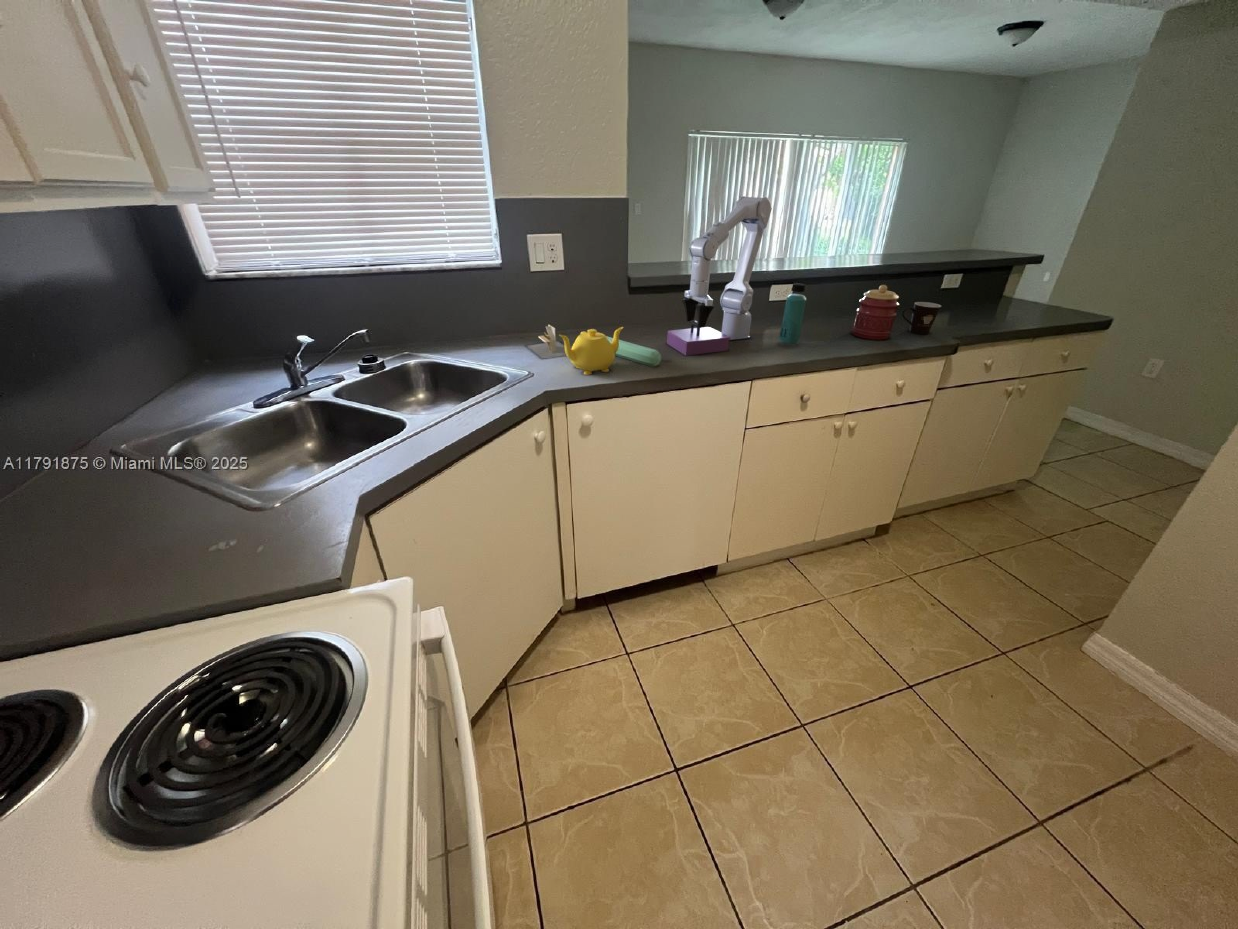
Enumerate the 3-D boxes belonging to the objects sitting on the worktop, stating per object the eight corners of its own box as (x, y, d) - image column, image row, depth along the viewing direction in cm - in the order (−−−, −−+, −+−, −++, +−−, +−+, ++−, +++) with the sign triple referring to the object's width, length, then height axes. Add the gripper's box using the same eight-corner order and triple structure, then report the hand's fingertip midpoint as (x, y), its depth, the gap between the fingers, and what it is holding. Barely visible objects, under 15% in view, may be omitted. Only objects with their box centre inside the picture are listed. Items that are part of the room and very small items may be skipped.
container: (662, 345, 143) (599, 328, 156) (651, 357, 140) (588, 339, 154) (665, 361, 147) (603, 343, 161) (654, 373, 145) (592, 354, 158)
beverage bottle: (800, 345, 167) (813, 283, 156) (792, 349, 162) (804, 286, 152) (783, 341, 170) (794, 281, 160) (774, 344, 166) (785, 283, 156)
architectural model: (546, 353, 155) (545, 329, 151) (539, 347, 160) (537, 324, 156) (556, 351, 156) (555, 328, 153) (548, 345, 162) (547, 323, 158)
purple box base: (706, 339, 171) (707, 328, 169) (727, 350, 160) (729, 339, 158) (666, 343, 166) (667, 332, 164) (685, 355, 155) (686, 343, 153)
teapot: (610, 356, 153) (610, 319, 147) (632, 370, 142) (634, 331, 136) (550, 364, 145) (548, 326, 140) (569, 381, 134) (567, 340, 128)
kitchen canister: (896, 336, 177) (912, 286, 168) (876, 342, 170) (891, 290, 161) (864, 328, 186) (877, 280, 177) (843, 333, 180) (856, 283, 171)
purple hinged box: (709, 328, 169) (710, 314, 166) (730, 338, 158) (732, 324, 156) (667, 332, 164) (668, 317, 161) (686, 343, 153) (688, 328, 150)
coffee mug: (932, 330, 185) (941, 303, 179) (931, 336, 178) (940, 308, 173) (898, 326, 190) (906, 299, 185) (896, 331, 184) (904, 304, 178)
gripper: (677, 276, 156) (674, 319, 163) (700, 285, 144) (695, 330, 151) (697, 275, 158) (693, 317, 165) (720, 283, 147) (715, 328, 154)
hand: (695, 323), depth 158 cm, fingers open, 7 cm apart
